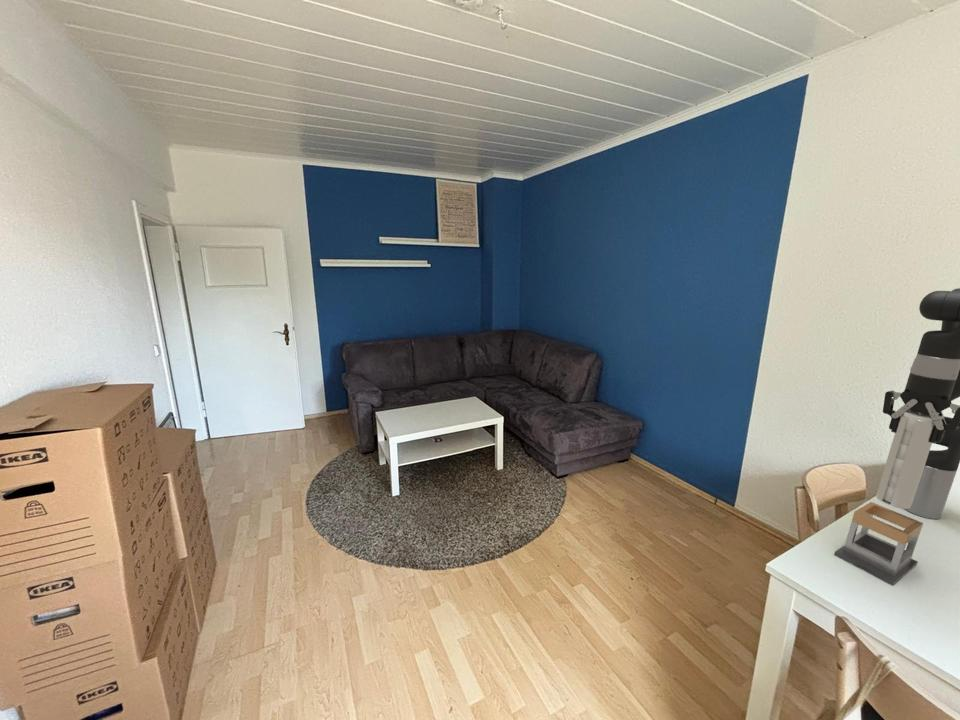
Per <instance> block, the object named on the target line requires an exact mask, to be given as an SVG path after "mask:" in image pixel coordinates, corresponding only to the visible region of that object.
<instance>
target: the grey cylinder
mask: <svg viewBox="0 0 960 720" xmlns="http://www.w3.org/2000/svg"><path fill="white" fill-rule="evenodd" d="M934 429H936V426H935V422H934V421H933V420H932V418H931V416H930V415H929V416H928V415H924V414H922V413H918V412H911V411H910V410H909V411H906V412H904V413H903V414H901V415H900V418H899V421H898V425H897V428H896V431H895V433H894V436H893V439H892V442H891V446H890V448H889V450H888V451H889V452H888V455H887V458H886V462H885V464H884V468H883V472H882V475H881V478H880V482H879V485H878V488H877V491H876V495H875V497H876V499H878V500H879V501H880V502H882V503H883V504H886V505H888V506H891V507H893V508H897V509H903V510H905V509H909V508H911V506H912V503H913V500H914V497H915V494H916V491H917V487H918V484H919V481H920V478H921V475H922V472H923V469H924V466H925V463H926V460H927V457H928V454H929V451H930V450H931V447H932V445H933V443H931V438H932V435H933V432H934Z"/></svg>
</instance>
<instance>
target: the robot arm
mask: <svg viewBox="0 0 960 720" xmlns="http://www.w3.org/2000/svg"><path fill="white" fill-rule="evenodd" d="M921 299H922V300H921V301H920V304H919V313H920V315H921V316H922V317H923V318H925V319H927V320H930V321H941V328H940V330H938V329H937V330H928V331H926V332H924V333H923V334H922V337H921V340H920V343H919V346H918V349H917V354H916V356H915V358H914V360H913V362H912V364H911V366H910V368H909V370H910V371H909V374H908V379H907V381H906V384H905V388H904V390H903V391H902V392H897V391H895V390H889V391H886V392H884V393H885V394H884V400H883V406H882V413H883V414H884V415H885V414H886V415H888V416H889V417H890V418H891V419H890V422H889V424H888V425H889V426H888V428H889V430H890V433H894V434H895V431H896V428H897V425H898V421H899V418H900V415H901V414H903V413H904V412H906V411H909V410H910V411H911V412H918V413H922V414H924V415H928V416H929V415H930V416H931V418H932V420H933V421H934V422H935V426H936V429H934V432H933V435H932V438H931V443H932V444H934V445H939V446H942V447H946V448H947V449H942V450H936V449H935V450H931V449H930V451H929V454H928V457H927V460H926V463H925V466H924V469H923V472H922V475H921V478H920V481H919V484H918V487H917V491H916V494H915V497H914V500H913V503H912V506H911V508H909V509H904V510H905V511H906V512H909V513H911V514H914V515H916V516H919V517H923V518H927V519H932V520H933V519H934V520H938V519H941V517H942V514H943V511H944V508H945V506H946V504H947V503H946V502H947V500H948V498H949V495H950V491H951V489H952V486H953V483H954V479H955V477H956V475H957V472H958V468H959V465H960V405H958V404H955V403H952V402H953V401H954V400H956V399H958V398H960V287H959V288H954V289H952V290H934V291H931V292H929V293H928V294H927V295H925V296H924V297H923V298H921ZM899 398H900V399H901V401H902V402H903V405H902V406H901V407H900V408H898V409H897V410H894V404H895V401H896V400H898V399H899ZM948 408H950V409H951V413H952V414H953V416H952V417H949V416H946V415H944V414H943V411H945V410H947V409H948Z"/></svg>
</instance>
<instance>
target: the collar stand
mask: <svg viewBox="0 0 960 720" xmlns="http://www.w3.org/2000/svg"><path fill="white" fill-rule="evenodd" d="M873 516H874V517H873ZM875 517H877V518H879V519H881V520H884V521H886V522H889V523H890V524H888V523H886V522H884V521H881V520H879V519H877V518H875ZM850 522H851V523H850V525H849V529H848V532H847V537H846V540H845V542H844V545H842V546H841V547H840V548H839V549H837V550H836V551H834V554H833V555H834V556H835V557H837V558H839V559H841V560H843V561H845V562H847V563H849V564H851V565H853V566H855V567H856V568H859V570H860V569H861V570H862V571H864V572H866V573H868V574H870V575H872V576H874V577H876V578H877V579H880V580H881V581H883V582H885V583H887V584H889V585H891V586H894V585H895V584H897V583H898V582H899V581H900V580H901V579H903V577H904V576H907V574H909V572H910V571H912V570H913V569H914V568H915V567H916V566H917V565H918V563H919V561H918V560H915V559H914V558H913V556H914V552H915V549H916V546H917V542H918V540H919V537H920V534H921V531H922V528H923V527H924V526H923V525H924V522H922V521H919V520H917V519H914V518H911V517H909V516H907V515H904V514H903V513H900V512H898V511H895V510H892V509H890V508H887V507H884V506H882V505H880V504H878V503H875V502H872V501H870V502H868V503H866V504H865V505H863V506H861V507H859V508H858V509H856V510H854V512H853V515H852V519H851V521H850ZM891 524H893V525H891ZM894 525H895V526H898V527H900V528H898V527H895V526H894ZM859 526H861V529H860V531H859V532H858V533H857V531H858V529H859ZM901 528H902V529H903V530H902V529H901ZM870 530H871V531H872V532H875V533H877V534H879V535H881V536H884V537H886V538H887V539H890V540H893V541H895V542H896V543H897V544H896V545H895V544H893V543H891V542H888V541H886V540H884V539H882V538H880V537H877V536H875V535H874V534H871V533H869V531H870Z"/></svg>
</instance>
